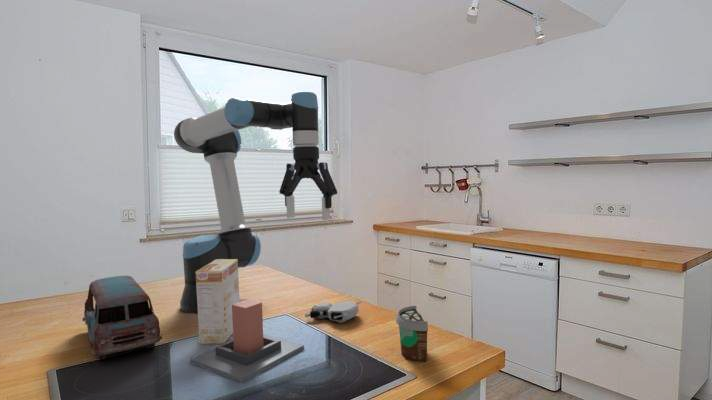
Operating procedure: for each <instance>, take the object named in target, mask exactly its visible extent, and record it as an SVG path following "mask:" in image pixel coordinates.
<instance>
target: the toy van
mask: <svg viewBox="0 0 712 400" xmlns="http://www.w3.org/2000/svg"><path fill="white" fill-rule="evenodd" d="M86 298H87V299H86V300H85V302H84V313H83V315H84V317H82V322H84V324H85V325H86V326H87V334H88V338H89V342H90V345H91V347H93V349H91V351H90V353H91V355H94V356H95V357H96V358H97V360H98V361H101V360H105V359H106V358H107V355H111V354H115V353H121V352H125V351H130V350H134V349H137V348H141V347H145V346H146V347H147V348H148V349H152V348H154V347H155V346H156V343H160V342H161V340H163V338H164V335H163V334H161V327H160V322H159V321H160V320H159V317H157V316H156V314H155V312H154V309H153V304H152V300H151V297H150V296H149V295H148V294H147V292H146V291H145V290H144V289H143V288H142V287H141V286H140V284H139V283H138V282H137V281H136V280H135V279H134V278H133V277H132V276H130V275H116V276H109V277H104V278H100V279H95V280H94V281H92V282H90V283H89V285H88V293H87V297H86ZM94 301H95V303H94ZM151 347H152V348H151Z"/></svg>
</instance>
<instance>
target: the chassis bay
mask: <svg viewBox="0 0 712 400" xmlns="http://www.w3.org/2000/svg"><path fill="white" fill-rule="evenodd" d="M263 344H264V347H262V348H260V349H258V350H256V351H254V352H252V353H250V354H248V355H246V354H243V353H240V352H237V351H234V343H233V339H230V340H228V341H226V342H225V343H223V344H218V345H216V346H214V348H212V349H210V350H207V351H205V352H202V353H200V354H198V355H196V356H194V357H191V358H190V360H189V362H190V364H193V365H195V366H197V367H201V368H202V369H205V370H208V371H211V372H213V373H216V374H217V375H220V376H224V377H227V378H229V379H232V380H233V381H236V382H239V383H242V384H243V383H244V382H246V381H248V380H249V379H252V378H253V377H256V376H257V375H259V374H261V373H263V372H265V371H266V370H268V369H270V368H272V367H273V366H275V365H277V364H279V363H281V362H283V361H285V360H287V359H288V358H290V357H292V356H293V355H296V354H297V353H299V352H301V351H303V350H304V349H305V345H304V344H302V343H299V342H294V341H291V340H287V339H284V338H281V337H276V336H273V335H270V334H266V333H263Z"/></svg>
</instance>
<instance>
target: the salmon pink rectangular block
mask: <svg viewBox="0 0 712 400" xmlns="http://www.w3.org/2000/svg"><path fill="white" fill-rule="evenodd" d="M232 320H233V333H232V337H233V339H232V340H233V343H234V351H237V352H240V353H243V354H246V355H248V354H250V353H252V352H254V351H256V350H258V349H260V348H262V347H264V344H263V334H264V325H263V324H264V323H263V320H264V319H263V302H262V301H257V300H253V299H249V298H247V299H245V300H241V301H240V302H238V303H235V304H232Z"/></svg>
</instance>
